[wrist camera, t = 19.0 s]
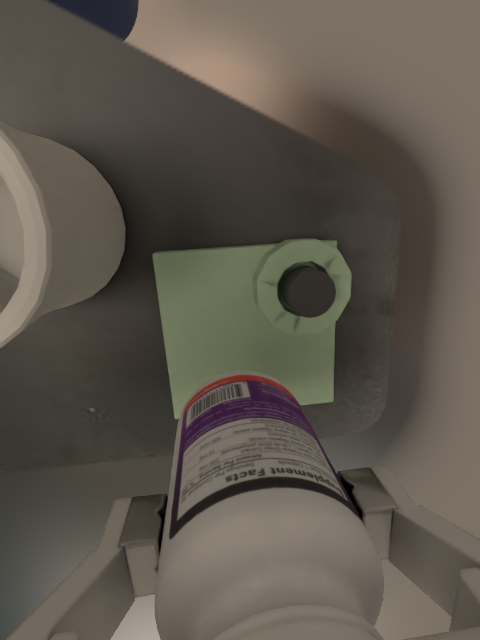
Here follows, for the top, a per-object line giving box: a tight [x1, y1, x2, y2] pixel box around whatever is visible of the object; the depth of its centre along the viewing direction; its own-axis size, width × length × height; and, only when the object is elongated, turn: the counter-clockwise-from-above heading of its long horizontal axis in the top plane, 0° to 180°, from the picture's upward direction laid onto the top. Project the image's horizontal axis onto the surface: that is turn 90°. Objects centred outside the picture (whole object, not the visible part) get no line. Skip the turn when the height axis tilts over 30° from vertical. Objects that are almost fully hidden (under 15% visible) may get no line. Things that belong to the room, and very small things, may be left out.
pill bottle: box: [155, 371, 384, 640], centre depth 9 cm, size 5×5×10 cm
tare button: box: [281, 266, 336, 318], centre depth 18 cm, size 3×3×2 cm
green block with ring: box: [152, 238, 351, 419], centre depth 20 cm, size 11×11×3 cm
